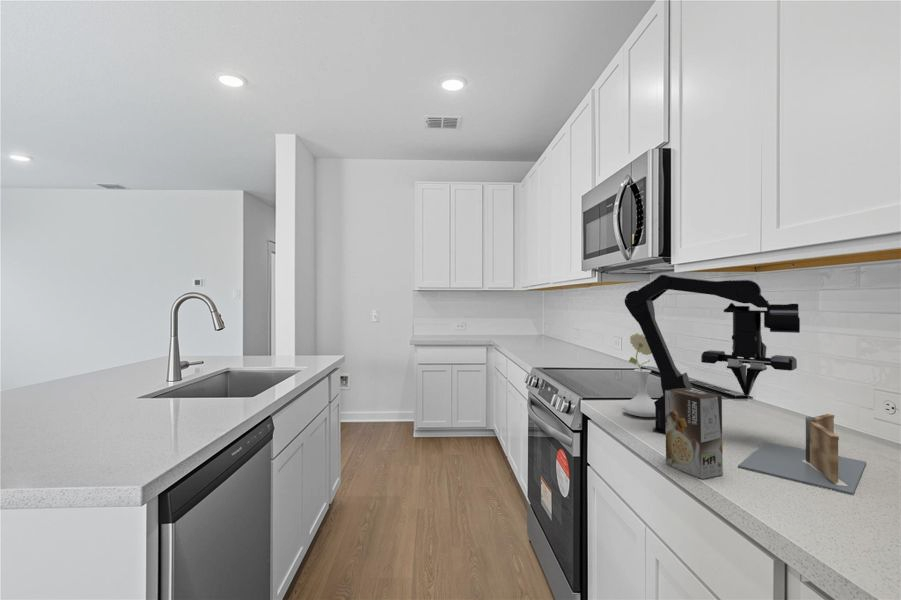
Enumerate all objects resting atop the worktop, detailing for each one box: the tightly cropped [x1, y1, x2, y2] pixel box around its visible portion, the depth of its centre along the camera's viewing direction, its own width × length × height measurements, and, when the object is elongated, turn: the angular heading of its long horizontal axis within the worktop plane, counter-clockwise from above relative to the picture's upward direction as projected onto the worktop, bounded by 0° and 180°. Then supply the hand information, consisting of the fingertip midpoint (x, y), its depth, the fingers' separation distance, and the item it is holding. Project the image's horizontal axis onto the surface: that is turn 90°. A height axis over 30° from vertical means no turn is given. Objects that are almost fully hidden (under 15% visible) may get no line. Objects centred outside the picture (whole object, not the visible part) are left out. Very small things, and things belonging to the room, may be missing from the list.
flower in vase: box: [622, 332, 656, 418], centre depth 136 cm, size 13×11×25 cm
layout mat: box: [737, 441, 867, 496], centre depth 94 cm, size 18×23×1 cm
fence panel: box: [809, 422, 840, 482], centre depth 89 cm, size 11×1×9 cm, turn 158°
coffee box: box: [665, 388, 724, 480], centre depth 92 cm, size 9×6×16 cm
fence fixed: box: [805, 413, 835, 463], centre depth 97 cm, size 2×10×10 cm, turn 118°
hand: (746, 395), depth 108 cm, fingers closed
